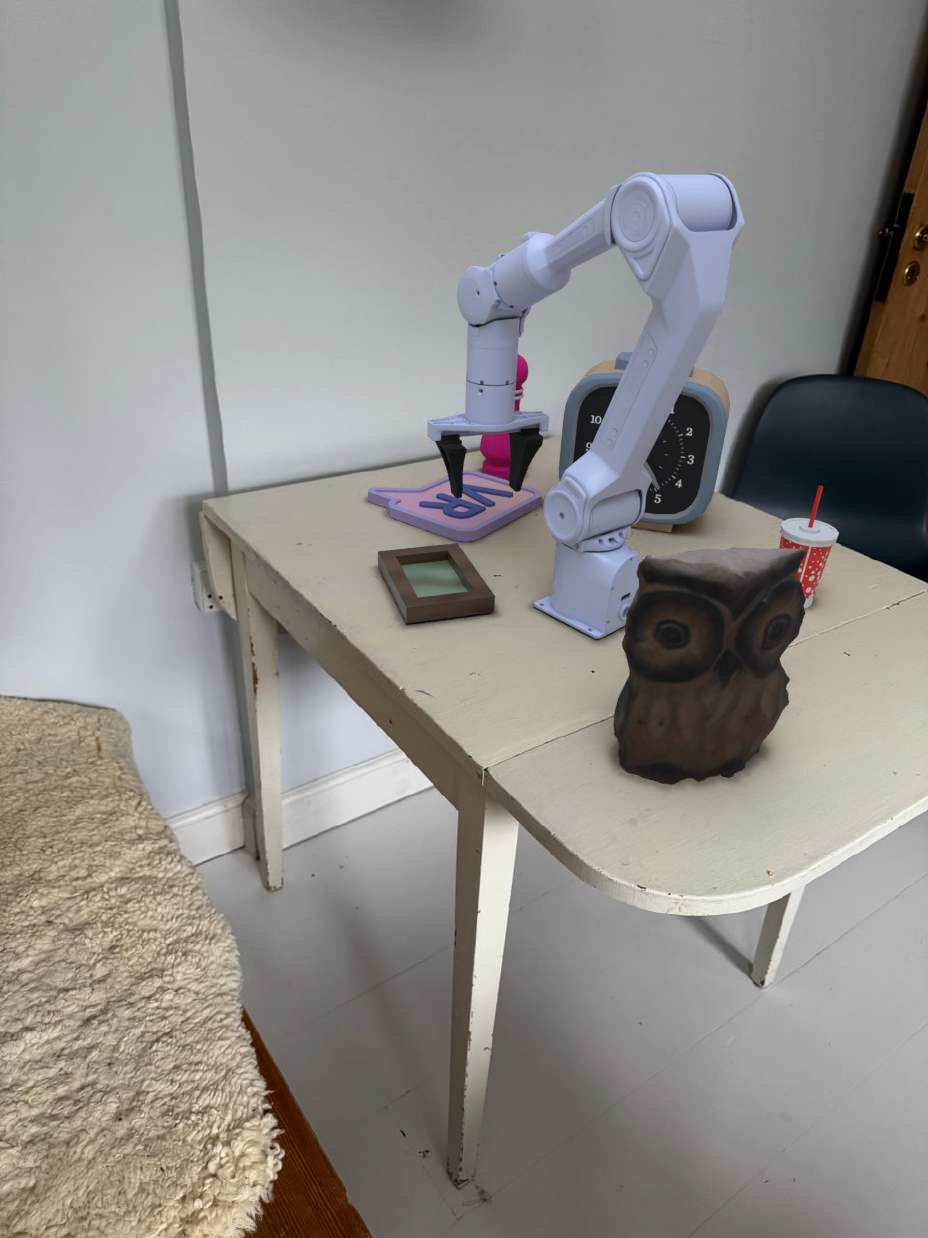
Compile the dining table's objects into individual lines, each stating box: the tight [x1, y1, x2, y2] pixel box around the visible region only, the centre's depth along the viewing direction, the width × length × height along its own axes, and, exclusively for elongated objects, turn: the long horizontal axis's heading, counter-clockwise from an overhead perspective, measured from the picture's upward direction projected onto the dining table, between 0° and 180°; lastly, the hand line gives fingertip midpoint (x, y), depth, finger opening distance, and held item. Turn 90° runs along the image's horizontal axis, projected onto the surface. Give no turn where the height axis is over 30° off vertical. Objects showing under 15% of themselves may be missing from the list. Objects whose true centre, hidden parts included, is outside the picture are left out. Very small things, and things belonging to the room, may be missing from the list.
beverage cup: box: [778, 485, 840, 609], centre depth 94 cm, size 6×6×14 cm
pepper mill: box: [479, 353, 529, 481], centre depth 125 cm, size 7×7×20 cm
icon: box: [367, 469, 543, 543], centre depth 119 cm, size 19×2×20 cm
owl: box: [613, 546, 807, 785], centre depth 68 cm, size 13×13×20 cm
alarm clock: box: [558, 351, 731, 533], centre depth 112 cm, size 21×10×22 cm, turn 72°
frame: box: [377, 542, 496, 624], centre depth 96 cm, size 14×10×2 cm
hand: (485, 491), depth 102 cm, fingers open, 7 cm apart
